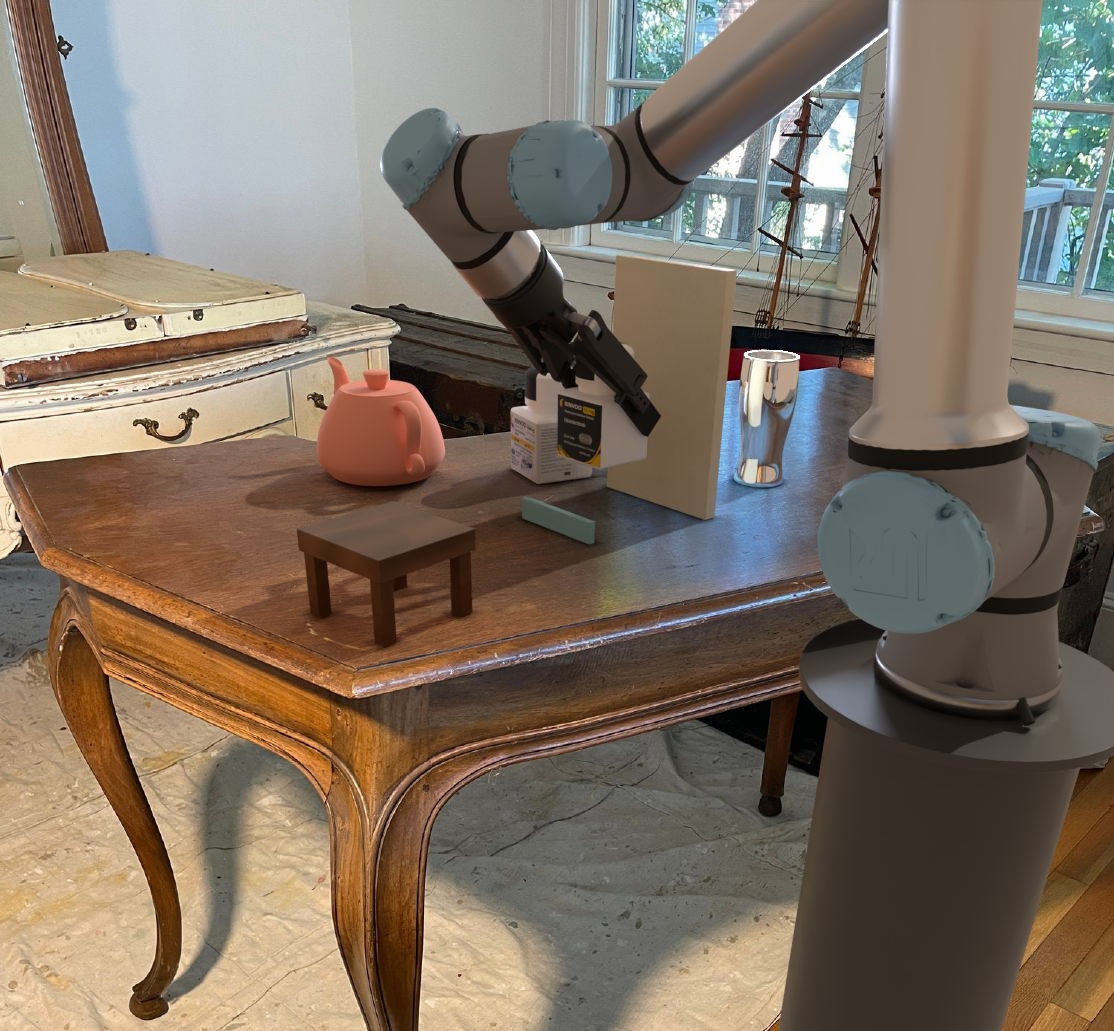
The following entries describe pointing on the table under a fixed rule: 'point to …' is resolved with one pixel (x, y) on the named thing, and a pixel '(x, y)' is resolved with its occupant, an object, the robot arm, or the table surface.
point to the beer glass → (765, 415)
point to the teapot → (378, 431)
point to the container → (540, 434)
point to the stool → (386, 557)
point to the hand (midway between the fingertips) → (625, 418)
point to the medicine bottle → (596, 424)
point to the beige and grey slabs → (668, 385)
